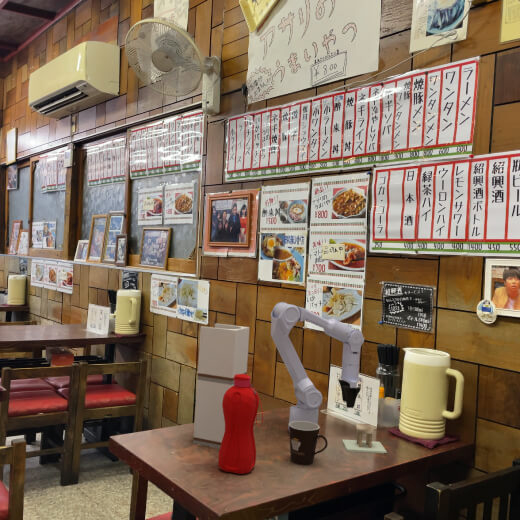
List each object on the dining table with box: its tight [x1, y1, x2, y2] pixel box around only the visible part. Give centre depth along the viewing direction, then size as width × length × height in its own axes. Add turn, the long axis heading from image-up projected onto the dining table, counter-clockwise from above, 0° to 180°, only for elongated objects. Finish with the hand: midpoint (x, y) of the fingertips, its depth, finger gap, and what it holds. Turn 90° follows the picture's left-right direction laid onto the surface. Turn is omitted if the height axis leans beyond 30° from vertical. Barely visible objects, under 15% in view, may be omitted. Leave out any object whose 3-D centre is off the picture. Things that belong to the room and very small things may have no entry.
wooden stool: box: [355, 423, 375, 448], centre depth 168 cm, size 5×5×6 cm
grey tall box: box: [192, 323, 250, 450], centre depth 164 cm, size 11×11×35 cm
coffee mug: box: [288, 421, 329, 466], centre depth 152 cm, size 12×9×10 cm
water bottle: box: [218, 374, 264, 475], centre depth 144 cm, size 9×11×25 cm
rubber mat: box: [341, 439, 388, 454], centre depth 168 cm, size 12×9×1 cm
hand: (348, 404), depth 182 cm, fingers open, 7 cm apart
